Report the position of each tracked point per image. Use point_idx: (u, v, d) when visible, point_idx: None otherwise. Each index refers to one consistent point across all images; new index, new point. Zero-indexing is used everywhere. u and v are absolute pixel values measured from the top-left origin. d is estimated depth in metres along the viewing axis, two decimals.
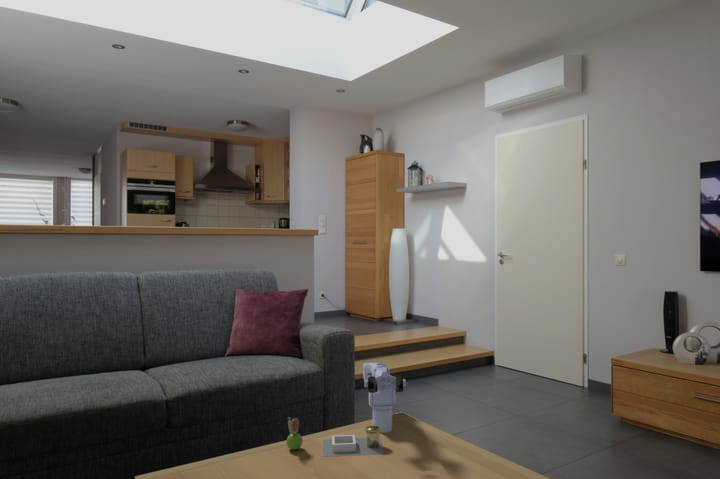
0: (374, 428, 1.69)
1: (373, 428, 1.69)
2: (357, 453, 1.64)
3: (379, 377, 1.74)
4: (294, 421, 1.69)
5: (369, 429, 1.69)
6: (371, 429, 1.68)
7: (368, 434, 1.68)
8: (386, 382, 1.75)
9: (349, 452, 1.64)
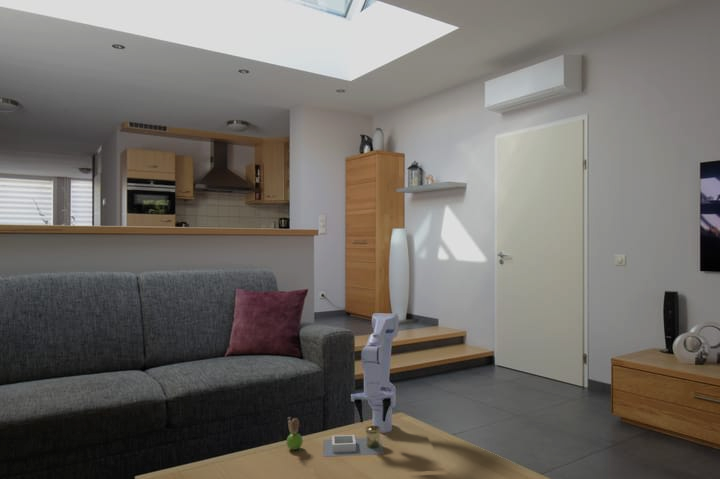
0: (374, 428, 1.69)
1: (373, 428, 1.69)
2: (357, 453, 1.64)
3: None
4: (294, 421, 1.69)
5: (369, 429, 1.69)
6: (371, 429, 1.68)
7: (368, 434, 1.68)
8: None
9: (349, 452, 1.64)
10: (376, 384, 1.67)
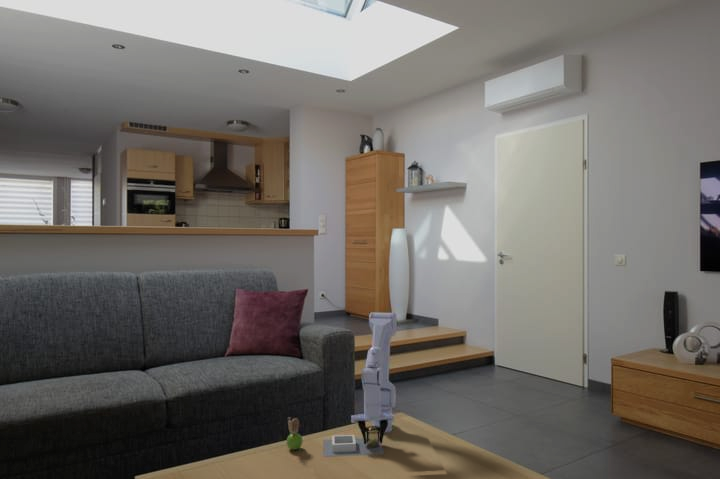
0: (374, 428, 1.69)
1: (373, 428, 1.69)
2: (357, 453, 1.64)
3: None
4: (294, 421, 1.69)
5: (369, 429, 1.69)
6: (371, 429, 1.68)
7: (368, 434, 1.68)
8: None
9: (349, 452, 1.64)
10: (376, 406, 1.67)
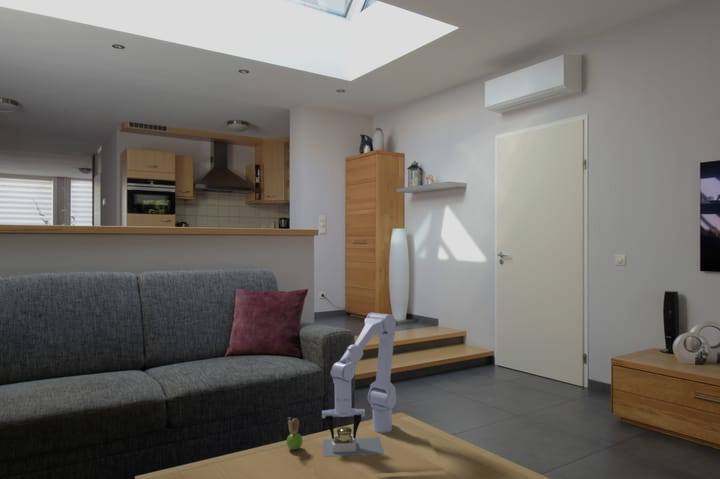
0: (346, 429, 1.68)
1: (344, 429, 1.68)
2: (357, 453, 1.64)
3: None
4: (294, 421, 1.69)
5: (340, 430, 1.68)
6: (342, 430, 1.68)
7: (339, 435, 1.67)
8: None
9: (349, 452, 1.64)
10: (347, 401, 1.67)
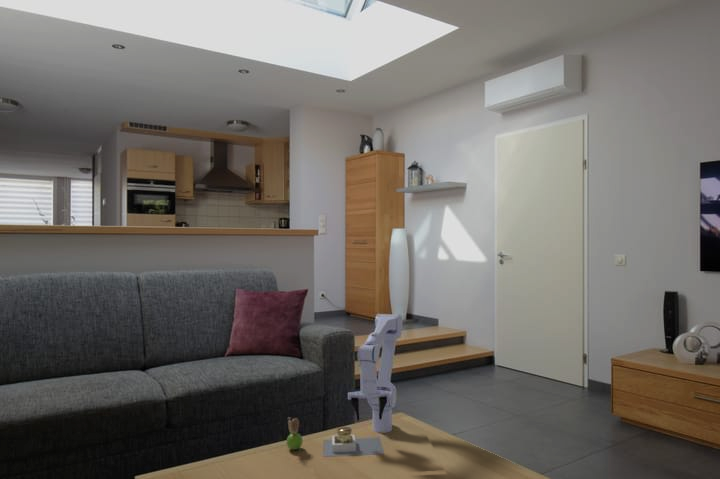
0: (346, 429, 1.68)
1: (344, 429, 1.68)
2: (357, 453, 1.64)
3: None
4: (294, 421, 1.69)
5: (340, 430, 1.68)
6: (342, 430, 1.68)
7: (339, 435, 1.67)
8: None
9: (349, 452, 1.64)
10: (372, 382, 1.69)
